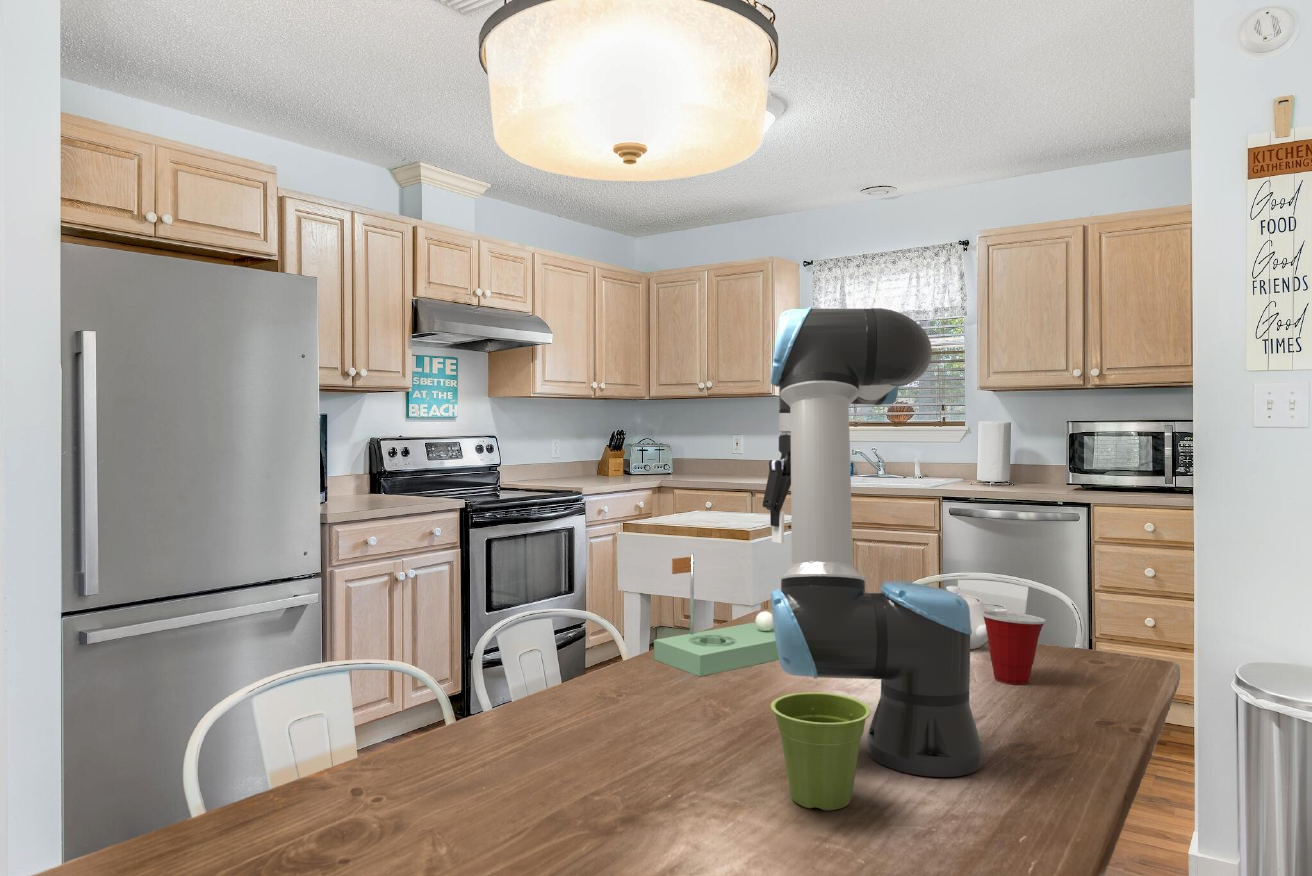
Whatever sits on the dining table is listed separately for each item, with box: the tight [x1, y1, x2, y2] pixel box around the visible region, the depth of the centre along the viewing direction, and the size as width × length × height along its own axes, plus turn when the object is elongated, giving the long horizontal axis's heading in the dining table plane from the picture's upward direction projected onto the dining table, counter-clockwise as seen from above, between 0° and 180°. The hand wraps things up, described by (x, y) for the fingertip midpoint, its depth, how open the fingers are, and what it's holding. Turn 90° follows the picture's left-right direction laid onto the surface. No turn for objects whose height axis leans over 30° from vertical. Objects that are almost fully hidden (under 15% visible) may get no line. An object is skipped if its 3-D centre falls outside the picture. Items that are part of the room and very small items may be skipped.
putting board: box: [653, 622, 779, 677], centre depth 169 cm, size 32×14×4 cm, turn 127°
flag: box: [671, 553, 695, 635], centre depth 169 cm, size 5×1×16 cm, turn 127°
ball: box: [755, 610, 774, 631], centre depth 174 cm, size 4×4×4 cm
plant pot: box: [770, 691, 871, 812], centre depth 103 cm, size 12×12×11 cm
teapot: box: [945, 585, 1009, 650], centre depth 179 cm, size 25×16×12 cm, turn 30°
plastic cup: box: [982, 610, 1047, 686], centre depth 154 cm, size 11×11×12 cm
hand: (795, 540), depth 179 cm, fingers open, 10 cm apart
